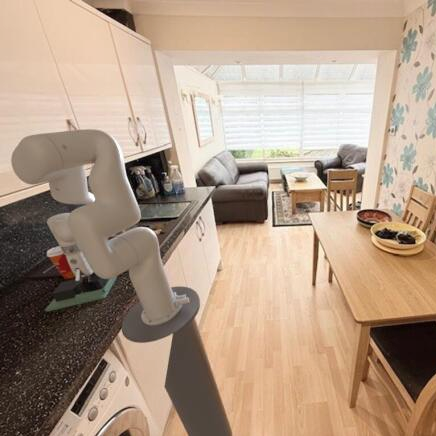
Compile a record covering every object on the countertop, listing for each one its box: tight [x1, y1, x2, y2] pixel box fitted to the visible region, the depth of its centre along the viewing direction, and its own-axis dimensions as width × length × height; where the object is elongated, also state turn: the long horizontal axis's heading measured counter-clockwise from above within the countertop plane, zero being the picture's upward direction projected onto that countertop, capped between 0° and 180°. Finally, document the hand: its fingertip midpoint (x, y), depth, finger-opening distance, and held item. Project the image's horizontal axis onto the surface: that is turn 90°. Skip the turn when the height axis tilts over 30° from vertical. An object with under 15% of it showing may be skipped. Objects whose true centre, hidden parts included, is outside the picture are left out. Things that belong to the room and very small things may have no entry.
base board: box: [44, 276, 118, 313], centre depth 95 cm, size 19×14×5 cm
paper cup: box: [46, 245, 76, 280], centre depth 104 cm, size 8×8×14 cm
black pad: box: [79, 273, 108, 293], centre depth 95 cm, size 6×6×4 cm
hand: (95, 283), depth 95 cm, fingers closed on black pad, 6 cm apart
